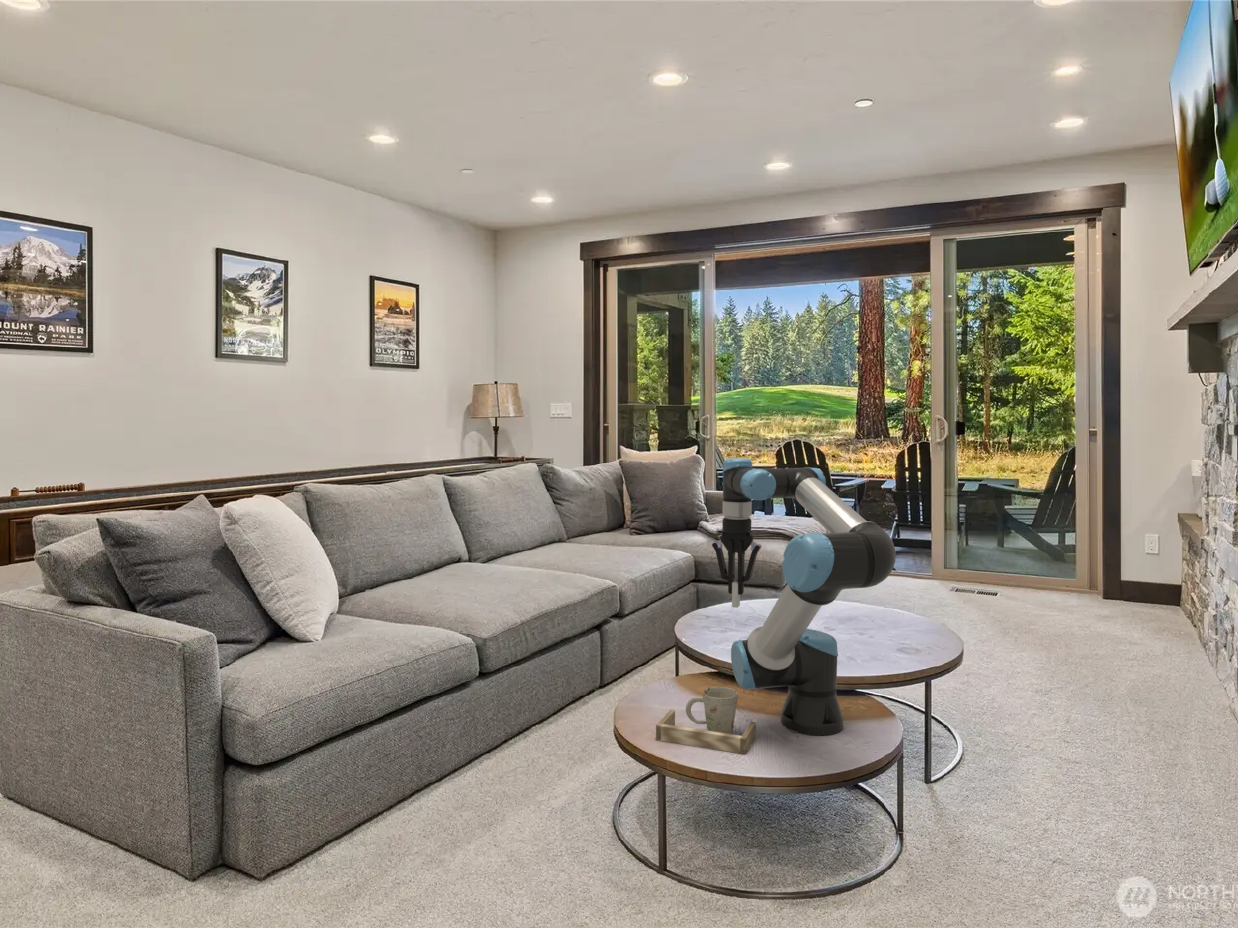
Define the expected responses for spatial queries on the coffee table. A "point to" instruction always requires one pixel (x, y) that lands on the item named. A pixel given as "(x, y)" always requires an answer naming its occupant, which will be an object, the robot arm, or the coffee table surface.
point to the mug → (716, 709)
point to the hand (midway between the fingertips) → (735, 606)
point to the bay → (704, 736)
